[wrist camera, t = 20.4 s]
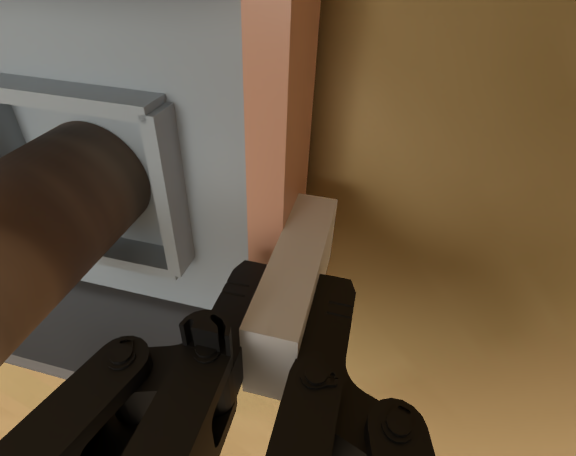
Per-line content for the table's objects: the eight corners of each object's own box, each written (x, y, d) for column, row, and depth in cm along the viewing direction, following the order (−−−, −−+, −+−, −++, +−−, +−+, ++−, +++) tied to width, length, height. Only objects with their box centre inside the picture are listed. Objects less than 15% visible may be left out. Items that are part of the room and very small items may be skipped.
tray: (324, -45, 11) (292, -38, 8) (295, 328, 22) (276, 394, 19) (-198, -75, 15) (-358, -78, 12) (-11, 259, 25) (-70, 305, 22)
